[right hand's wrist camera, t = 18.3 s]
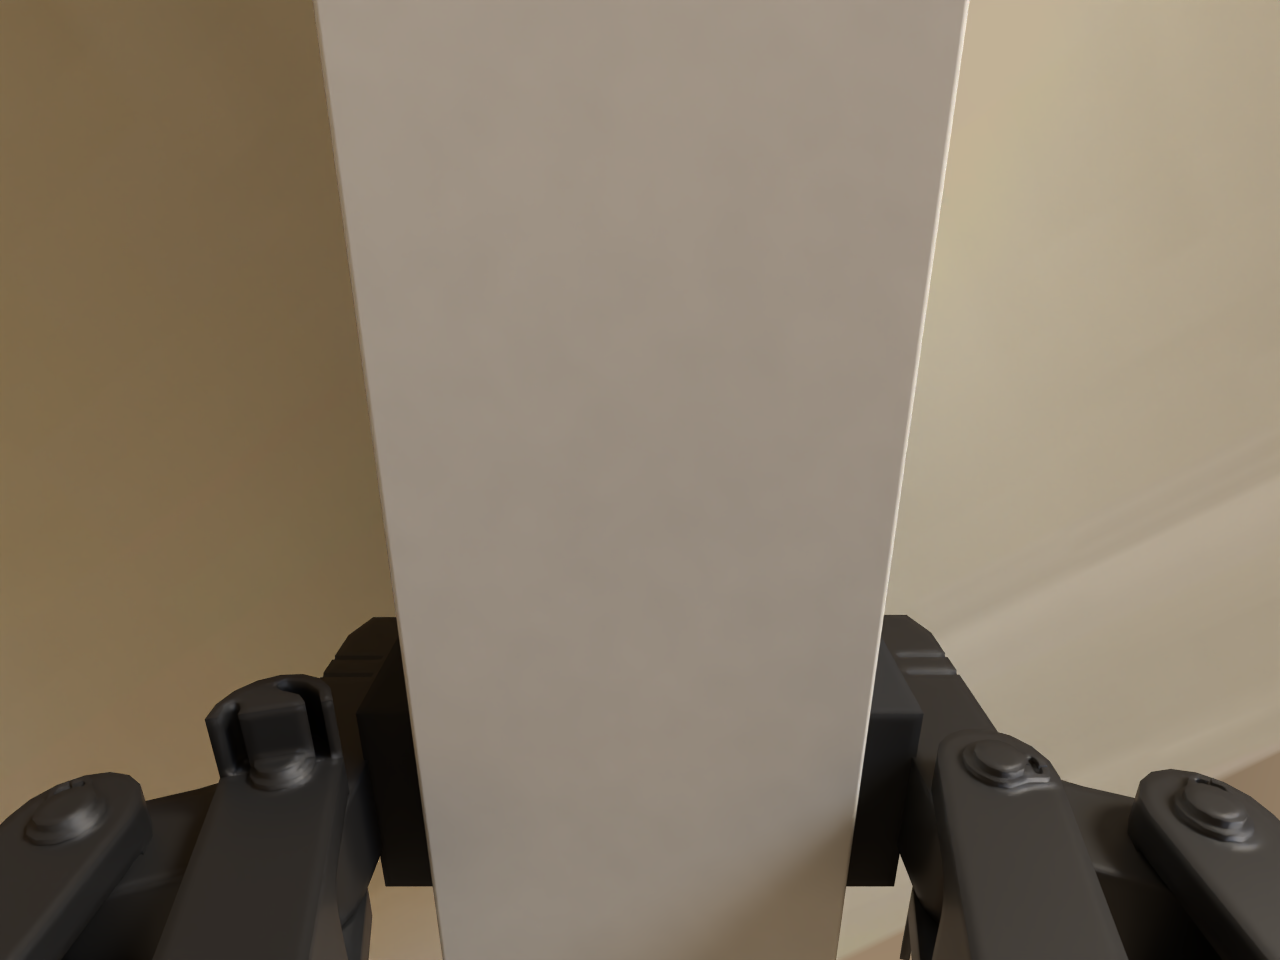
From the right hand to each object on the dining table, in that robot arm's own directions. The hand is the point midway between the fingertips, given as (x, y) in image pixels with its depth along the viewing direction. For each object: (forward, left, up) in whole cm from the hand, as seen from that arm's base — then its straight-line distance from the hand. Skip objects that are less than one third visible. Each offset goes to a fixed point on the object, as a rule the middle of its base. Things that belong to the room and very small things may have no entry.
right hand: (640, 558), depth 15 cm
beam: (+11, +20, -1) cm, 23 cm away
